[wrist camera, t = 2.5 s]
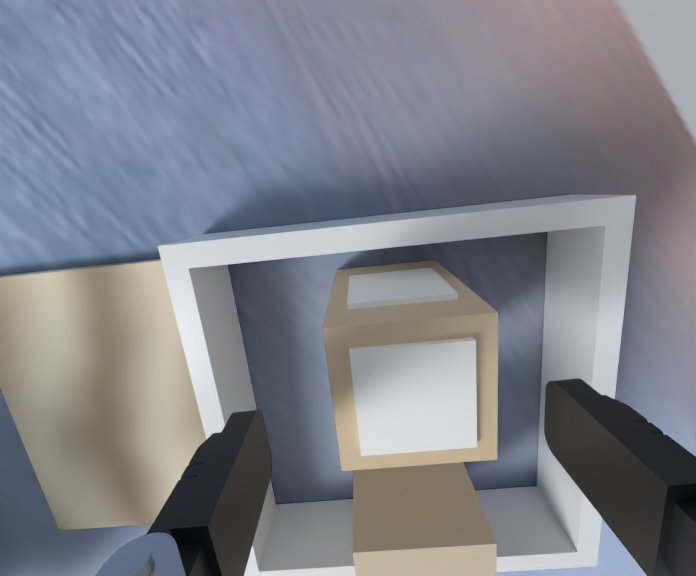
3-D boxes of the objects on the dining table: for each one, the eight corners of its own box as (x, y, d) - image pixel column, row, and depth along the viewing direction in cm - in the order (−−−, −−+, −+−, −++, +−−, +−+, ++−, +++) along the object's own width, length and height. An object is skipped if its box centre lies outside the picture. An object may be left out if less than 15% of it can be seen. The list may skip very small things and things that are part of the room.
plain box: (441, 406, 20) (496, 543, 12) (444, 478, 21) (495, 643, 13) (353, 413, 20) (352, 552, 12) (362, 484, 21) (365, 650, 14)
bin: (570, 194, 16) (636, 194, 13) (552, 498, 21) (596, 566, 17) (201, 234, 17) (157, 246, 13) (263, 518, 22) (243, 587, 18)
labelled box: (434, 255, 17) (501, 308, 10) (438, 350, 19) (499, 464, 11) (336, 266, 18) (321, 324, 10) (347, 358, 19) (341, 475, 11)
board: (196, 254, 18) (188, 257, 17) (252, 505, 22) (248, 517, 21) (-28, 278, 18) (-44, 282, 17) (69, 518, 22) (59, 530, 22)
